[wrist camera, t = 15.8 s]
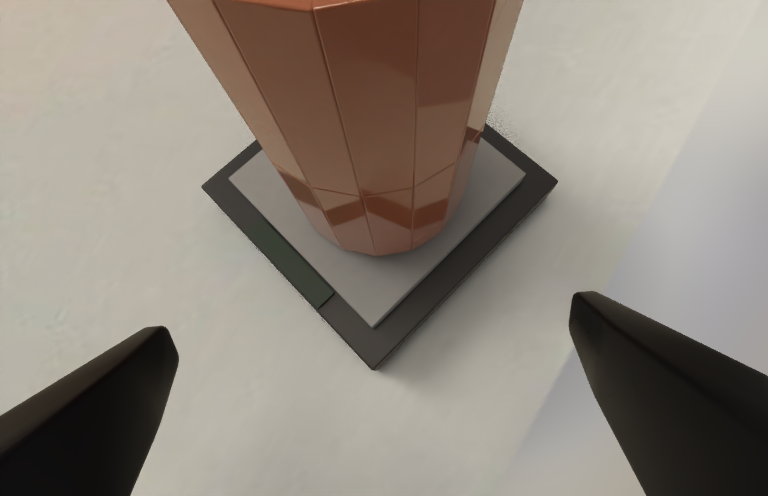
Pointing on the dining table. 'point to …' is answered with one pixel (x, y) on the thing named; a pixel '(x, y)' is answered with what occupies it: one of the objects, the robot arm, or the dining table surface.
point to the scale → (387, 272)
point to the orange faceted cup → (361, 102)
